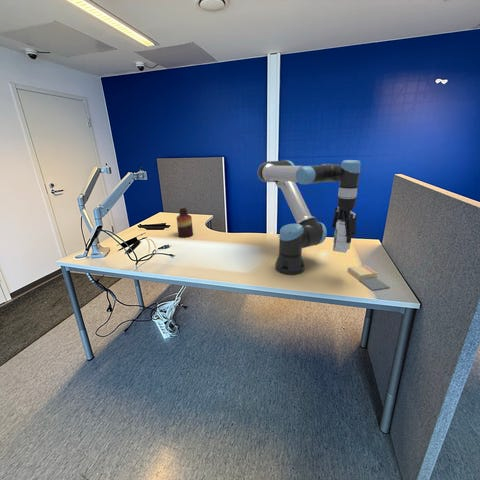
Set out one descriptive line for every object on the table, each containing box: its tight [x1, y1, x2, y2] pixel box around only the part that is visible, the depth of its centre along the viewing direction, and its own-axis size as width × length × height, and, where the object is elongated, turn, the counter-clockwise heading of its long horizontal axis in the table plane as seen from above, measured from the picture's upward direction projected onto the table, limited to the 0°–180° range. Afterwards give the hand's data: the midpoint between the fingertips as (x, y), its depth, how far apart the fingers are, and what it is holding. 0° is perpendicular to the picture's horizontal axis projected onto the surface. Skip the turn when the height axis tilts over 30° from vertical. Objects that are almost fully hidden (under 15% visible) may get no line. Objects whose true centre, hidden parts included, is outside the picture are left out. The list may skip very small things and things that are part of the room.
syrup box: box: [332, 219, 349, 254], centre depth 118 cm, size 6×6×14 cm
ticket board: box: [347, 264, 378, 281], centre depth 128 cm, size 10×9×2 cm
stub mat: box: [358, 277, 390, 292], centre depth 119 cm, size 9×9×1 cm
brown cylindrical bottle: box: [176, 207, 194, 239], centre depth 188 cm, size 11×11×20 cm
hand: (341, 245), depth 119 cm, fingers closed on syrup box, 8 cm apart
